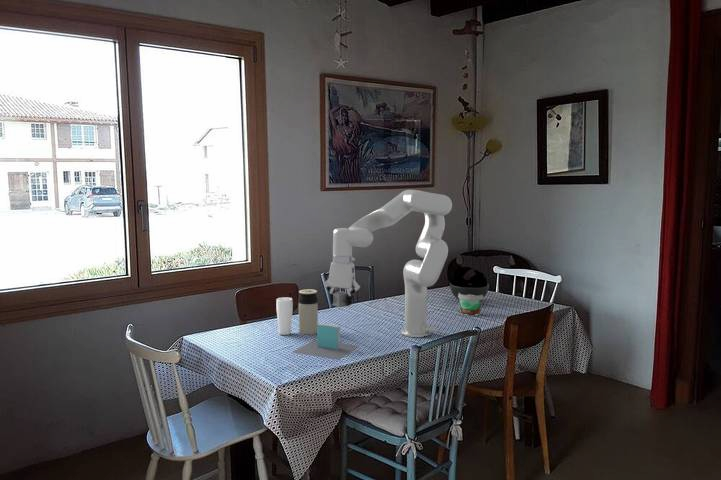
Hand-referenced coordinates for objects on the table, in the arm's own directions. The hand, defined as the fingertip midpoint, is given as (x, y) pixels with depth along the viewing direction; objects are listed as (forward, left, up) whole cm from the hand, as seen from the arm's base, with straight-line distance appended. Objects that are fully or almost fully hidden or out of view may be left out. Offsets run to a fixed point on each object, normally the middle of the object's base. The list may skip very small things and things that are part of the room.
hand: (341, 303), depth 234 cm
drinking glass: (+27, -2, -16) cm, 32 cm away
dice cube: (0, 0, -1) cm, 1 cm away
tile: (+1, +8, -16) cm, 18 cm away
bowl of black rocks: (-30, -91, -16) cm, 97 cm away
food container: (-36, -67, -16) cm, 77 cm away
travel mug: (+19, -8, -16) cm, 26 cm away
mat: (+1, +10, -16) cm, 19 cm away
